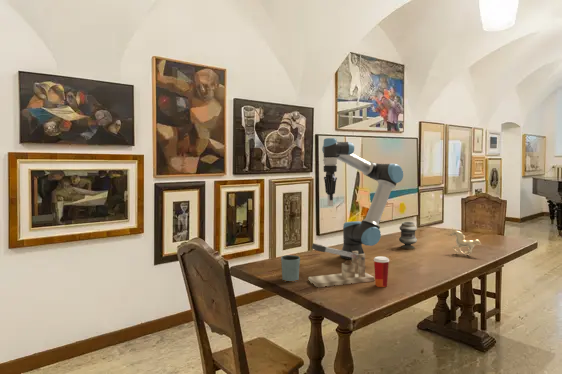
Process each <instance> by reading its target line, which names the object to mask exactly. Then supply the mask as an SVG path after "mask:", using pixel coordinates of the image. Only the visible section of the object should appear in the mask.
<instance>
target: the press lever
mask: <svg viewBox="0 0 562 374" xmlns="http://www.w3.org/2000/svg"><path fill="white" fill-rule="evenodd" d="M311 249H312V250H314V251H318V252H322V253H329V254H334V255H340V256H341V255H342V256H347V257H352V258H356V259H358V257H359V254H357V253H352V252H347V251H343V250H342V249H337V248H334V247H328V246H324V245H322V244H318V243H312V245H311Z"/></svg>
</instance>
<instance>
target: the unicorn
mask: <svg viewBox="0 0 562 374" xmlns="http://www.w3.org/2000/svg"><path fill="white" fill-rule="evenodd" d="M451 228H452V232H450V236H455V242H456V245H453V246H452V249H453V250H454V252H455V253H456V254H457V253H459V252H461V254H462V255H468V256H469V255H471V254H472V253H473V249H474V247H476V245H477V246H482V243H481V241H480V240H479V239H475V240H466V239H465V238H466V237H465V235H464V233H463V232H462V231H460V230H456V229H454V228H453V227H451ZM456 248H458V250H457V249H456ZM462 248H467V251H465V252H464V251H462Z"/></svg>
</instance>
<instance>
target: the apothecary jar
mask: <svg viewBox="0 0 562 374" xmlns="http://www.w3.org/2000/svg"><path fill="white" fill-rule="evenodd" d="M398 228H399V230H400V237H399V239H398V240H399V242H400V243H401V244H403V245H401V246H400V248H401V249H405V250H414V249H416V247H415V246H414V244H416V243H417V242H418V239H417V237H416V232H417V230H418V228H417V226H416V225H415V222H414V221H413V222H412V221H403V222H401V225H400V226H399V227H398Z"/></svg>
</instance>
